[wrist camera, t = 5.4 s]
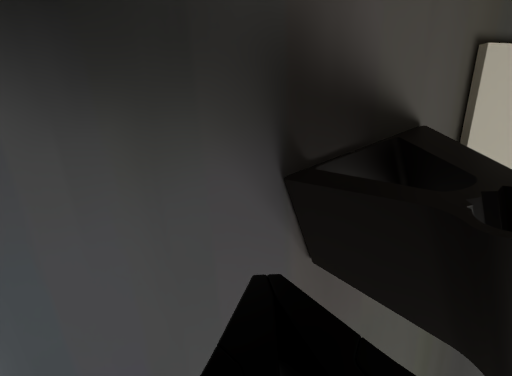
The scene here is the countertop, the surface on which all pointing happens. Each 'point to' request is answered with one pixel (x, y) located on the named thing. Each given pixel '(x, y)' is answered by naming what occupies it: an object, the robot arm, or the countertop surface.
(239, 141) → the countertop surface
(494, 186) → the phone stand
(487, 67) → the mat
